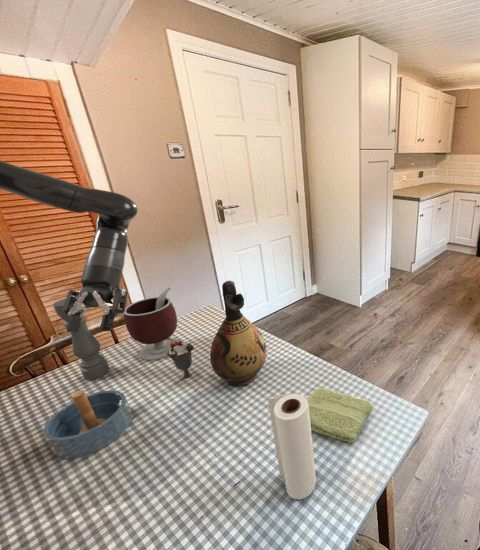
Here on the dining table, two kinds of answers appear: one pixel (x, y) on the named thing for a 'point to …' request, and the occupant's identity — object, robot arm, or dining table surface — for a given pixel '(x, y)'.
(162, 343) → the mate gourd
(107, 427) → the bowl
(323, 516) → the dining table surface
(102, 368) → the candle holder
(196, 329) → the dining table surface
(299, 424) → the paper towel roll
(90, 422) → the wooden stamp
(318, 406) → the washcloth
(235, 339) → the ceramic jug
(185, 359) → the sundae
